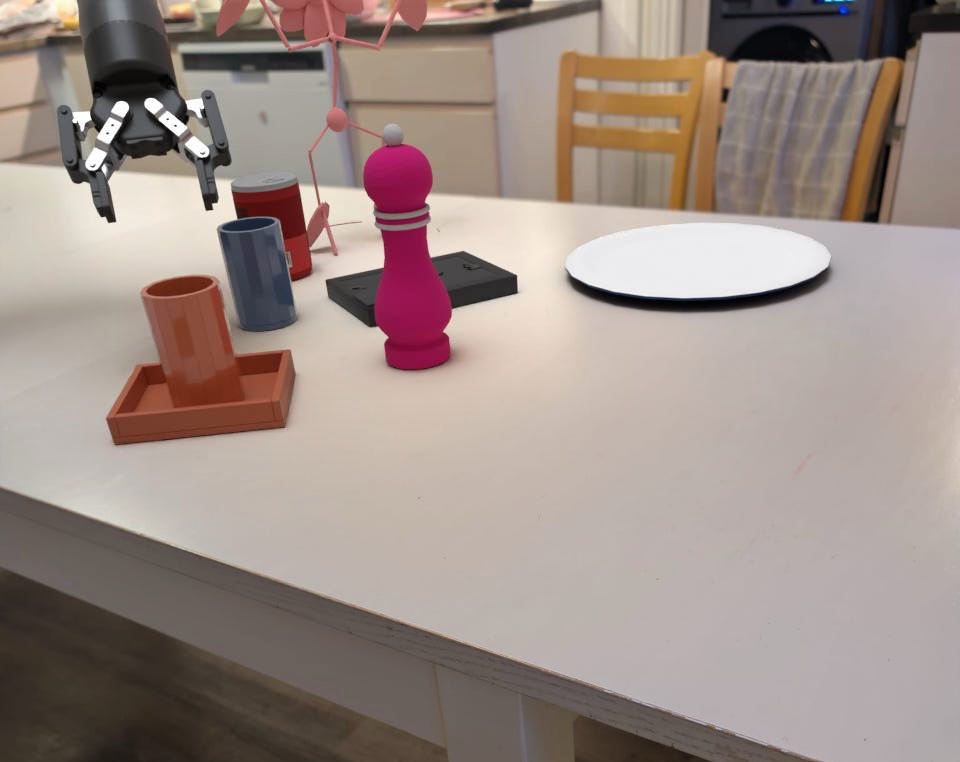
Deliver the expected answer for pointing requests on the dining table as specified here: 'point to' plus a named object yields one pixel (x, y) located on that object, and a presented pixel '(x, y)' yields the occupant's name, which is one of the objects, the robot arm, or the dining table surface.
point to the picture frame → (457, 271)
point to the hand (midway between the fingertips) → (159, 211)
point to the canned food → (277, 212)
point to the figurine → (318, 10)
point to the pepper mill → (406, 256)
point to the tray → (153, 417)
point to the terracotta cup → (193, 340)
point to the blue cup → (258, 273)
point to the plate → (698, 261)
